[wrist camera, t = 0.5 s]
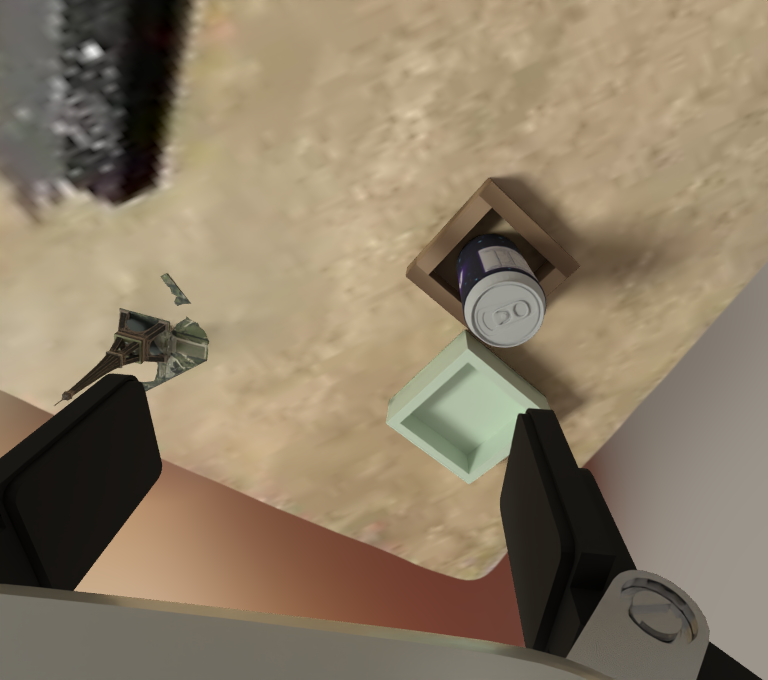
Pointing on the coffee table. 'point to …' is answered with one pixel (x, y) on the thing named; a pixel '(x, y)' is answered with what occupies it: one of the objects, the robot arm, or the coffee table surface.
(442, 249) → the socket block
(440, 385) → the tray
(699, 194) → the coffee table surface
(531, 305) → the beverage can
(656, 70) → the coffee table surface
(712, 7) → the coffee table surface
